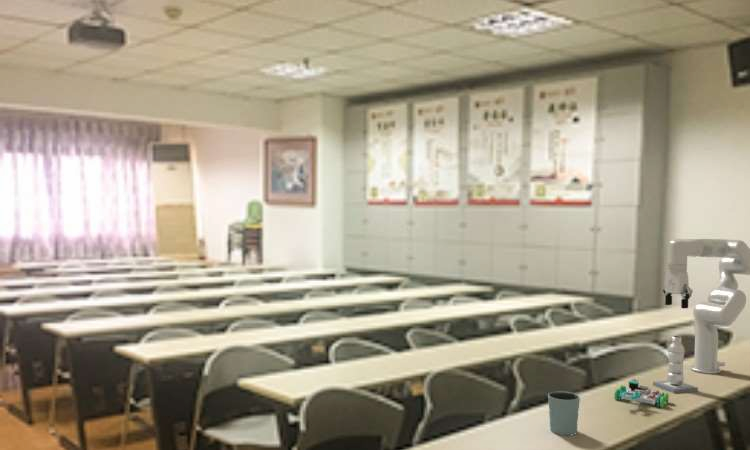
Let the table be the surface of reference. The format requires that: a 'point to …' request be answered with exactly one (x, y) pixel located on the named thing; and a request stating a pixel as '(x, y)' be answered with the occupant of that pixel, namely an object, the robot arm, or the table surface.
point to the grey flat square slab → (675, 387)
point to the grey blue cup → (563, 412)
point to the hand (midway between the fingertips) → (676, 306)
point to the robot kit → (641, 394)
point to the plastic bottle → (676, 361)
